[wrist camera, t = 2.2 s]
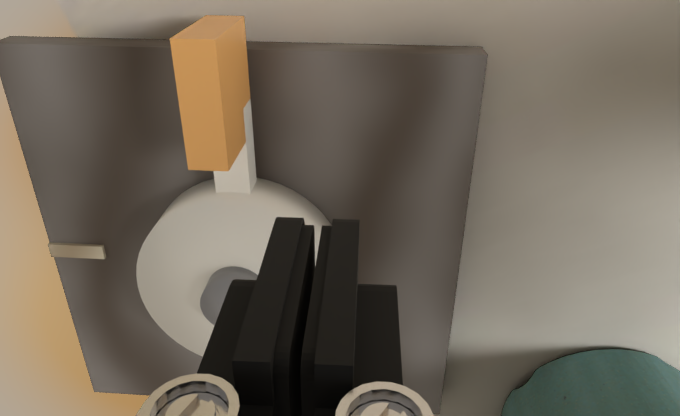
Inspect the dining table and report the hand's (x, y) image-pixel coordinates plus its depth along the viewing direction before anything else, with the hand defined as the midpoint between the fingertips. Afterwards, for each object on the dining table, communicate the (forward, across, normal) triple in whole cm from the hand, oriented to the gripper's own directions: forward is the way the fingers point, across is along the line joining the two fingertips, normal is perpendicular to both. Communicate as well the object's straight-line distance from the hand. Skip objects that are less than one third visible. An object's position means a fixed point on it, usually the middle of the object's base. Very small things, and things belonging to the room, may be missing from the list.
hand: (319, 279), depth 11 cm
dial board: (+17, +5, +10) cm, 20 cm away
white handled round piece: (+15, +5, +6) cm, 17 cm away
